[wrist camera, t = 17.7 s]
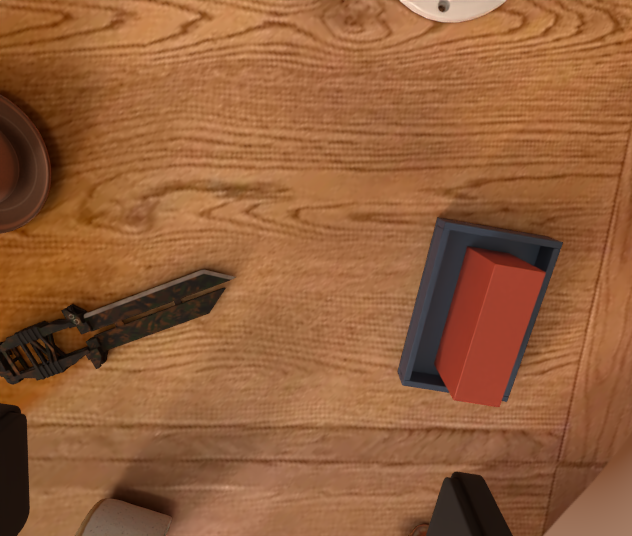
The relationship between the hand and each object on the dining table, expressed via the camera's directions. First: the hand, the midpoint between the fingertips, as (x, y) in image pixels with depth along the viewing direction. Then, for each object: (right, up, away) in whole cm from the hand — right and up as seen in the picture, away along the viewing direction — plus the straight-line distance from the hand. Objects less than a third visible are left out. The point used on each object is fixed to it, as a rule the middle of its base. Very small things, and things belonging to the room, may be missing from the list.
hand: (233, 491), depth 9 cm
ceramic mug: (-19, -24, +37) cm, 48 cm away
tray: (+16, +1, +29) cm, 33 cm away
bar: (+16, +1, +29) cm, 33 cm away
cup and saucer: (-26, +14, +26) cm, 39 cm away
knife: (-17, 0, +30) cm, 34 cm away
